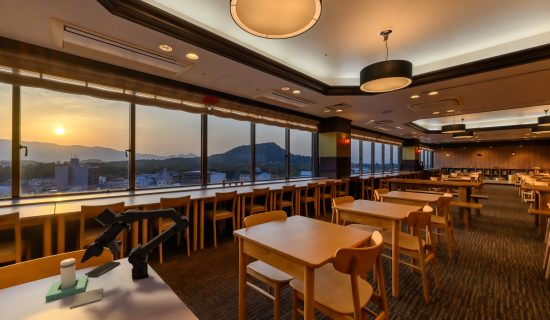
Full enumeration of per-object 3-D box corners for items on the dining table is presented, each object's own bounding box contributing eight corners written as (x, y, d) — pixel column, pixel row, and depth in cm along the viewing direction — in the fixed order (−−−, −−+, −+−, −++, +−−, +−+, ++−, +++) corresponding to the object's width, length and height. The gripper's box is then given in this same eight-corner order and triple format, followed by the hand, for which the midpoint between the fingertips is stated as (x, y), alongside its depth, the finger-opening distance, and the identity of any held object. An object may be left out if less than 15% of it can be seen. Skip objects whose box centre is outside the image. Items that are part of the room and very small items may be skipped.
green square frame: (87, 279, 114) (87, 274, 114) (84, 291, 104) (84, 287, 104) (53, 286, 107) (53, 282, 107) (45, 301, 97) (45, 296, 97)
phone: (121, 262, 131) (97, 275, 116) (121, 264, 131) (97, 278, 116) (108, 261, 132) (83, 274, 117) (109, 263, 132) (83, 276, 117)
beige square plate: (102, 288, 106) (102, 287, 106) (101, 300, 98) (101, 298, 98) (74, 295, 100) (74, 294, 100) (69, 308, 92) (69, 307, 92)
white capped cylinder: (76, 284, 109) (76, 257, 109) (74, 290, 105) (74, 261, 105) (62, 288, 106) (61, 260, 106) (59, 293, 102) (59, 264, 102)
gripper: (123, 248, 106) (93, 278, 101) (130, 235, 123) (105, 260, 119) (102, 233, 102) (70, 263, 98) (112, 222, 119) (86, 247, 115)
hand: (84, 258), depth 108 cm, fingers open, 9 cm apart
